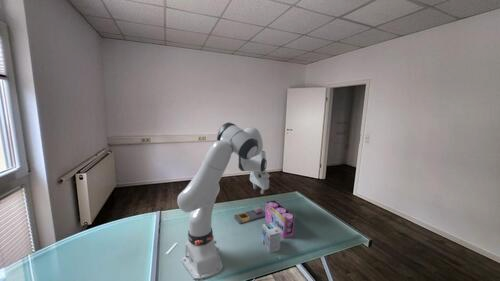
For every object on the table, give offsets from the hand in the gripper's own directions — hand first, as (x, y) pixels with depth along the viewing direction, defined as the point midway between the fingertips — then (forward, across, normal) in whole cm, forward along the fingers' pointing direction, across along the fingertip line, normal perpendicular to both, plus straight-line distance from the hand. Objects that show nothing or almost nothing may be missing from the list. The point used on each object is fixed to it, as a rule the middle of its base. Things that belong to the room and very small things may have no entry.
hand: (258, 191), depth 140 cm
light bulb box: (+19, +31, -11) cm, 38 cm away
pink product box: (+19, +19, +4) cm, 27 cm away
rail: (+19, 0, -6) cm, 20 cm away
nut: (+18, 0, 0) cm, 18 cm away
